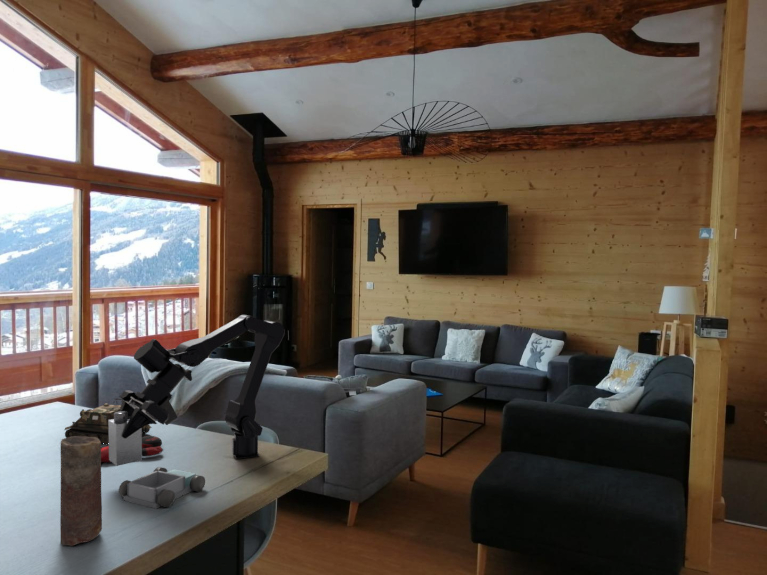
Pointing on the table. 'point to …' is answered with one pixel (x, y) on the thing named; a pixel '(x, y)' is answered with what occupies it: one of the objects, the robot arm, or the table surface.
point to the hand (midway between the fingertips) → (119, 434)
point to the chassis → (160, 487)
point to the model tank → (96, 423)
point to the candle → (80, 490)
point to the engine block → (123, 441)
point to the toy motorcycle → (149, 447)
